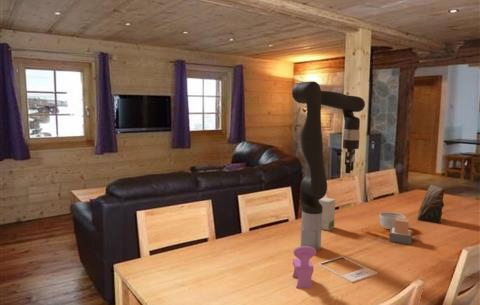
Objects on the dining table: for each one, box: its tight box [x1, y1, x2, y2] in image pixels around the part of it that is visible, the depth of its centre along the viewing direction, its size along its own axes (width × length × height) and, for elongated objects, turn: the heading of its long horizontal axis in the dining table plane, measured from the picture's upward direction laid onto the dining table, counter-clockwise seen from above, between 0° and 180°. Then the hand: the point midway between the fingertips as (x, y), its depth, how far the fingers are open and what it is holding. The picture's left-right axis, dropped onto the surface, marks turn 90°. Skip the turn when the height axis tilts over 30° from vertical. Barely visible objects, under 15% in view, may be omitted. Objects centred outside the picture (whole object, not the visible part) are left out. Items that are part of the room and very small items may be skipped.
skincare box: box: [318, 197, 336, 231], centre depth 196 cm, size 8×7×16 cm
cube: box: [394, 217, 410, 234], centre depth 180 cm, size 6×6×6 cm
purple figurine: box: [291, 246, 317, 289], centre depth 135 cm, size 8×9×15 cm
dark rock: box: [417, 183, 445, 224], centre depth 212 cm, size 13×13×20 cm
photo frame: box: [317, 255, 378, 284], centre depth 148 cm, size 15×1×18 cm
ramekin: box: [379, 211, 407, 229], centre depth 198 cm, size 13×13×7 cm
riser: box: [388, 227, 414, 246], centre depth 181 cm, size 10×10×4 cm
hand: (349, 171), depth 179 cm, fingers open, 8 cm apart
